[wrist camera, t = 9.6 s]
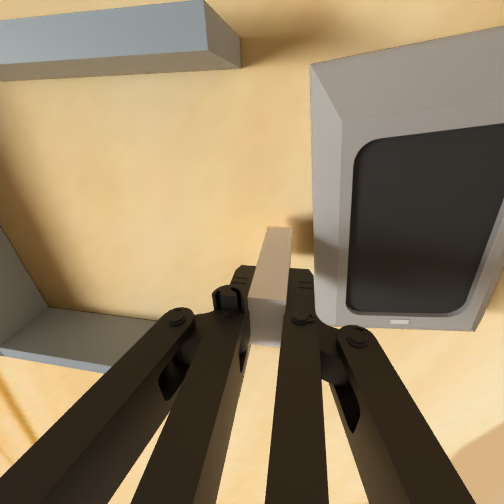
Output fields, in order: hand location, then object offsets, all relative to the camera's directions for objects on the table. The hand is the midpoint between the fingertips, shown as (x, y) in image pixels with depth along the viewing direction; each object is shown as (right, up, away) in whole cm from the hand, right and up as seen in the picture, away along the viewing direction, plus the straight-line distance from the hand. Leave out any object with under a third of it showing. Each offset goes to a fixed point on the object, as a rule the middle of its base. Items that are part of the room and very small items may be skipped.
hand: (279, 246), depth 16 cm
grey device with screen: (+7, +2, -1) cm, 7 cm away
